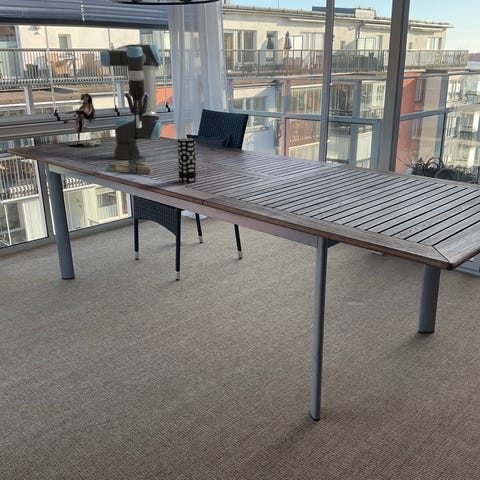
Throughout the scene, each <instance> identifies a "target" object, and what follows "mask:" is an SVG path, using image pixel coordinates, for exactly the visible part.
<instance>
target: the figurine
mask: <svg viewBox="0 0 480 480" xmlns="http://www.w3.org/2000/svg"><path fill="white" fill-rule="evenodd" d="M78 104H80V107H79V108H75V109H74V110H70V111H66V112H64V114H65V115H70V114H73V117H74V121H75V123H76V124H75V128H74V129H73V133H74V134H75V133H77V141H78V142H73V143H74V144H73V143H70V144H69V143H68V146H71V145H74V146H77V145H79V144H81V145H82V146H86V147H87V146H88V147H89V148H92V147H95V146H97V145H101V144H102V143H103V142H104V139H103V138H102V139H99V138H96V139H95V140H92V139H94V137H91V140H87V141H84V140H82V141H81V139H80V137H81V135H80V133H83V134H85V132H86V130H87V129H88V125H87V122H86V121H89V123H90V125H91V127H93V125H92V124H93V123H92V121H93V120H96V111H95V110H96V108H95V107H94V103H93V97H92V95H91V94H90V93H88V92H86V93H81V94H80V100H79V102H78ZM76 117H77V118H76ZM85 120H86V121H85ZM70 122H71V120H70V119H66V120H63V121H62V123H63V124H64V125H66V124H68V123H70ZM93 128H94V127H93ZM94 134H95V130H94V129H92V131H90V132H89V135H94ZM66 136H67V137H69V133H67V134H66ZM87 138H88V137H87V136H86V137H85V139H87Z"/></svg>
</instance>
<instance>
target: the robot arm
mask: <svg viewBox="0 0 480 480" xmlns="http://www.w3.org/2000/svg"><path fill="white" fill-rule="evenodd" d="M99 54H100V63H101V65H102V66H103V67H127V74H128V79H129V80H128V88H129V89H128V92H127V93H125V94H124V96H125V98H126V101H127V104H128V107H129V110H130V113H131V114H133V115H134V116H128V117H121V118H117V119H116V120H115V121H114V125H115V126H114V128H115V141H116V146H115V150H114V154H113V155H114V156H113V157H114V159H116V160H125V161H126V160H128V161H129V160H133V159H136V158H141V152H140V149H139V147H138V145H137V143H138V142H137V141H138V140H139V141H140V140H142V141H143V140H145V141H147V140H148V141H150V140H151V141H153V140H159V139H160V138H161V134H162V126H163V121H162V119H160V116H159V114H157V84H156V82H157V81H156V78H157V77H156V75H157V74H156V72H157V71H158V70H159V67H160V66H161V65H162V63H161V56H160V51H159V47H158V46H157V45H156V44H151V43H149V44H126V45H122V46H119V47H117V48H116V49H113V50H109V49H108V50H107V49H106V50H105V49H104V50H101V52H100V53H99Z"/></svg>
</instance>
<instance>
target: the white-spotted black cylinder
mask: <svg viewBox="0 0 480 480" xmlns="http://www.w3.org/2000/svg"><path fill="white" fill-rule="evenodd" d="M196 146H197V145H196V139H195V138H191V137H188V138H187V137H186V138H183V137H181V138H178V139H177V156H178V157H177V158H178V159H177V160H178V182H179V183H180V184H194V183H193V182H195V183H196V182H197V152H196V151H197V150H196Z"/></svg>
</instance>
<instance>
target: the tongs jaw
mask: <svg viewBox="0 0 480 480" xmlns="http://www.w3.org/2000/svg"><path fill="white" fill-rule="evenodd" d="M112 163H116V164H127V165H129V162H124V161H112ZM147 164H148V162H146V161H145V162H141V163H138V164H136V165H140V166H141V165H145V166H146V165H147Z"/></svg>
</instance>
